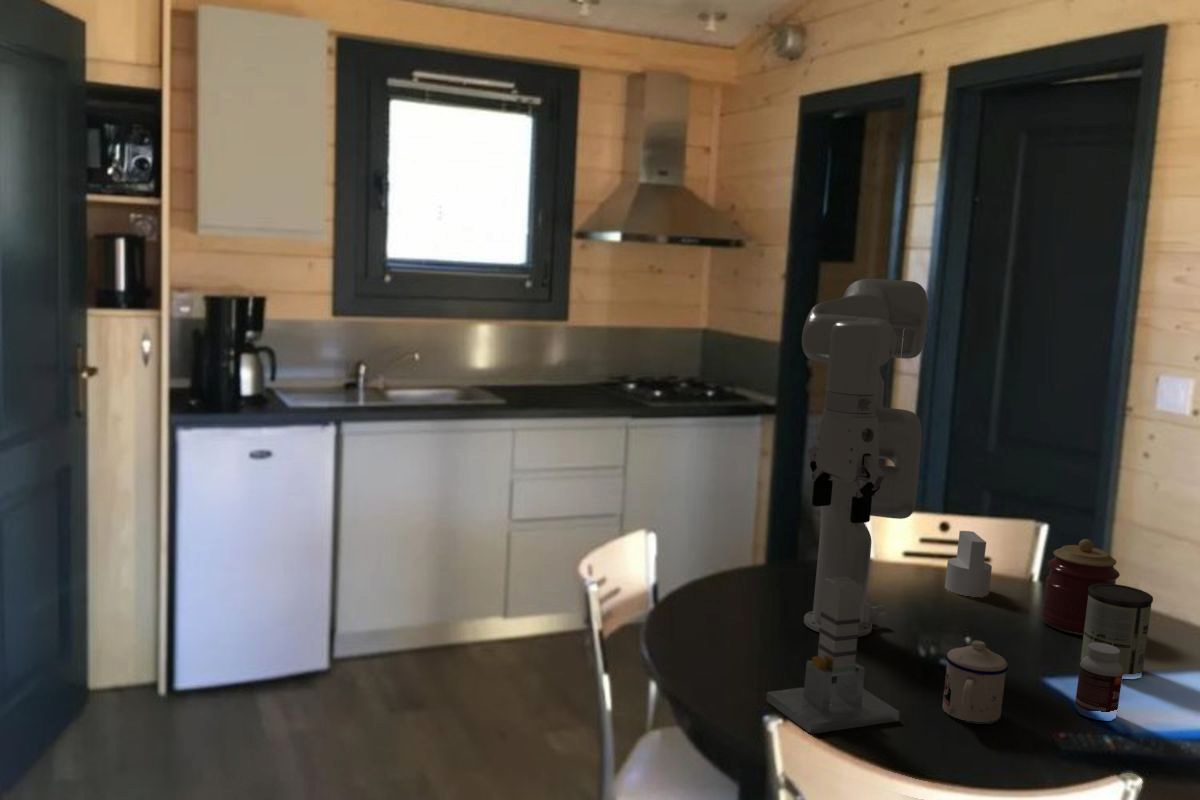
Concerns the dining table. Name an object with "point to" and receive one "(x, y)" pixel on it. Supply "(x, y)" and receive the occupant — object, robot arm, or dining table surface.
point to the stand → (831, 701)
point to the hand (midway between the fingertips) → (840, 513)
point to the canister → (1074, 583)
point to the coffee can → (1118, 622)
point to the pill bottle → (1099, 679)
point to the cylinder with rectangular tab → (969, 567)
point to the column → (840, 625)
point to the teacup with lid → (974, 683)
